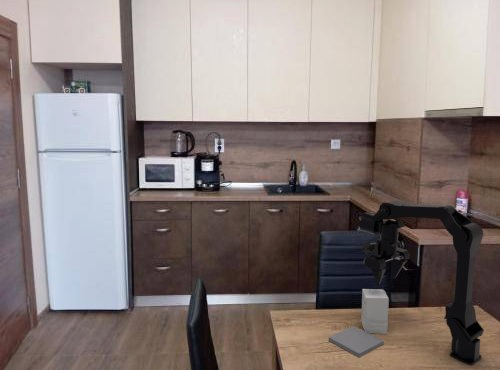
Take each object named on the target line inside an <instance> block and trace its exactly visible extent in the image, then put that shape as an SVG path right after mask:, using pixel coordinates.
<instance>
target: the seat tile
mask: <svg viewBox="0 0 500 370" xmlns="http://www.w3.org/2000/svg"><path fill="white" fill-rule="evenodd" d="M328 342H330V343H333V344H334V345H336V346H338V347H340V348H341V349H343V350H345V351H347V352H348V353H351V354H353V355H354V356H356V357H358V358H361V357H363V356H365V355H366V354H368V353H370V352H373V350H376V349H377V348H380V347H381V346H383V345H384V343H385V340H383V339H382V338H379V337H377V336H375V335H374V334H372V333H367V332H365V331H364V329H363V330H362V329H361V328H359V327H356V326H354V325H352V326H350V327H348V328H346V329H344V330H342V331H341V330H340V331H339V332H337V333H334V334H333V335H331V336H328Z"/></svg>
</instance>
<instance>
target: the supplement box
mask: <svg viewBox="0 0 500 370" xmlns="http://www.w3.org/2000/svg"><path fill="white" fill-rule="evenodd" d="M361 292H362V293H361V295H362V296H361V319H360V320H361V322H360V323H361V325H362V328H363V331H365V332H367V333H369V334H379V335H381V334H382V335H385V334H386V335H387V334H388V327H389V325H388V324H389V302H390V298H389V296H388V295H387V293H386V291H385V290H384V289H383V288H382V289H381V288H380V289H375V288H374V289H372V288H370V289H369V288H362V290H361Z"/></svg>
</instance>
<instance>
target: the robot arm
mask: <svg viewBox="0 0 500 370" xmlns="http://www.w3.org/2000/svg"><path fill="white" fill-rule="evenodd" d="M401 218H415V219H416V218H417V219H420V218H421V219H437V220H439V221H440V222H441V223H442V225H443V226H444V228H445V230H446V231H447V233H449V234H450V235H451V237H452V245H453V249H454V250H455V253H456V265H455V266H456V267H455V276H454V277H455V278H454V280H455V281H454V293H453V301H452V302H450V303H449V304H446V305H445V311H444V312H445V316H444V318H443V319H444V320H445V323H446V326H447V327H448V329H449V330H450V335H451V337H452V338H451V344H450V345H451V348H450V351H451V352H449V356H450V357H453V358H455V359H457V360H459V361H461V362H464V363H466V364H468V365H471V366H472V365H474V364H475V363H477V362H478V361H479V360H481V359H482V358H483V357H482V355H480V348H481V339H480V338H479V337H481V336H483V334H484V333H485V329H484V328H483V327H482V325H481V324H480V323H479V321H478V320H477V315H476V308H475V306H474V305H473V302H472V301H473V300H472V299H473V287H474V273H475V264H476V263H475V262H476V254H477V253H478V251H479V248H480V247H481V244H482V240H483V238H484V230H483V228H482V227H480V225H479V224H477V223H475V222H473V221H472V220H471V219H470V218H469V217H467V216H465V215H464V214H463V213H461V212H459V211H458V210H457V209H456V207H454V206H452V205H449V204H446V205H437V204H436V205H430V204H410V203H407V202H404V201H400V200H390V201H386V202H381V204H380V205H379V207H378V210H377V211H376V212H375V214H374V213H371V212H364V213H363V217H362V218H361V219H360V222H359V223H358V225H359V227H358V228H359V229H360V230H361V232H365V233H367V234H368V233H369V234H372V235H376V236H378V235H379V239H377V240H376V241H375V242H370V241H367V242H362V247H361V250H362V251H363V253H365V254H366V255H368V256H366V257H364V259H363V266H366V267H367V268H369V269H370V270H371V272H372V275H373V278H374V281H375V285H376V286H380V285H381V283H382V280H383V277H384V275H385V273H386V269H387V268H386V266H387V262H390V265H391V266H390V269H391V270H390V272H391V279H393V280H395V279H396V278H397V276H399V273H400V272H401V270H402V268H403V267H404V266H405V264H406V263H407V262H408V260H409V259H411V252H410V251H409V250H408V249H404V248H401V247H398V246H399V245H401V241H399V229H401V228H404V227H406V224H405V223H404V222H403V221H402V219H401ZM396 219H397V220H396ZM373 253H374V254H373ZM369 254H372V255H369Z"/></svg>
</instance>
